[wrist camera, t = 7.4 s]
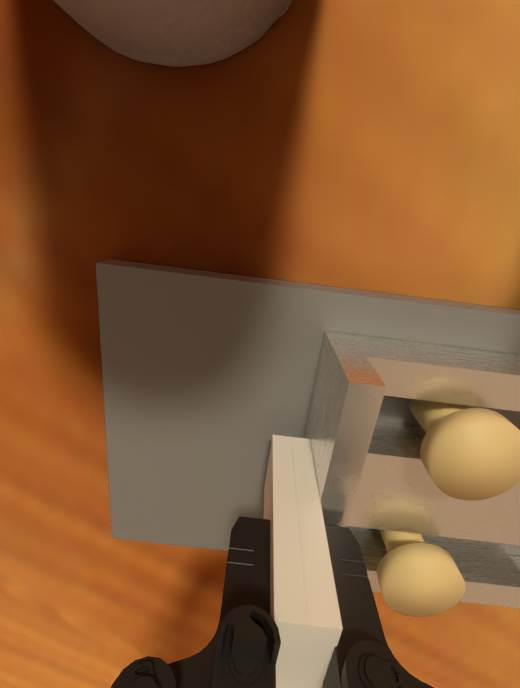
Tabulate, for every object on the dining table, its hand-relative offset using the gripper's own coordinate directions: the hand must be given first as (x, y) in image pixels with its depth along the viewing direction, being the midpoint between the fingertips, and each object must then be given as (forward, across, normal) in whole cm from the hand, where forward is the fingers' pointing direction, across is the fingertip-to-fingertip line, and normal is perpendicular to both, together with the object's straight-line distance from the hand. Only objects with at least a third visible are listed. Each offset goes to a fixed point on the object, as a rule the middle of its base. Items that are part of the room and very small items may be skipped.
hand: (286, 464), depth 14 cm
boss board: (+2, +6, 0) cm, 6 cm away
